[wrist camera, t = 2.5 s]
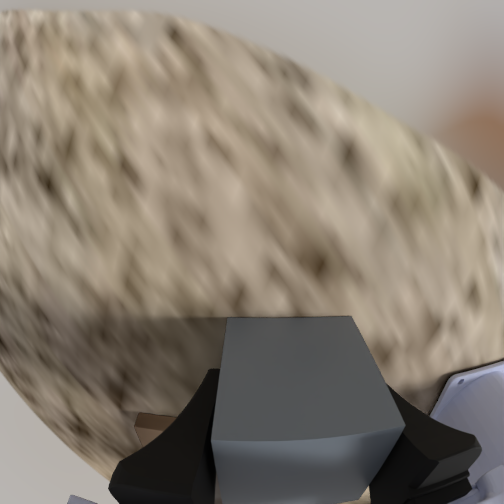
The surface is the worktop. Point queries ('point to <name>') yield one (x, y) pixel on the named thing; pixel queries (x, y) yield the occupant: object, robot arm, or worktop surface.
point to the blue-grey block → (300, 412)
